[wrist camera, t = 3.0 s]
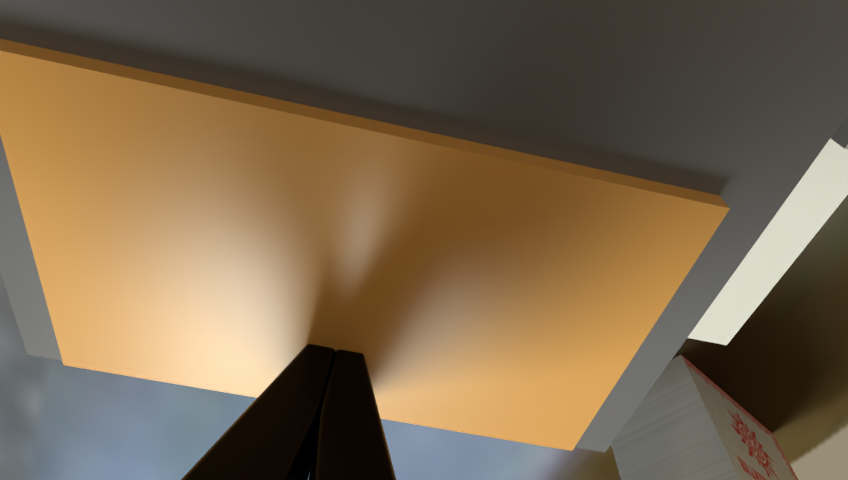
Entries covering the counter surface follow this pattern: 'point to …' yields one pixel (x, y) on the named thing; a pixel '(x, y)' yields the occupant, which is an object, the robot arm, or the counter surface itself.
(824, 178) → the breaker housing
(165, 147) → the rocker switch
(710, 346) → the counter surface
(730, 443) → the printed cardboard box
